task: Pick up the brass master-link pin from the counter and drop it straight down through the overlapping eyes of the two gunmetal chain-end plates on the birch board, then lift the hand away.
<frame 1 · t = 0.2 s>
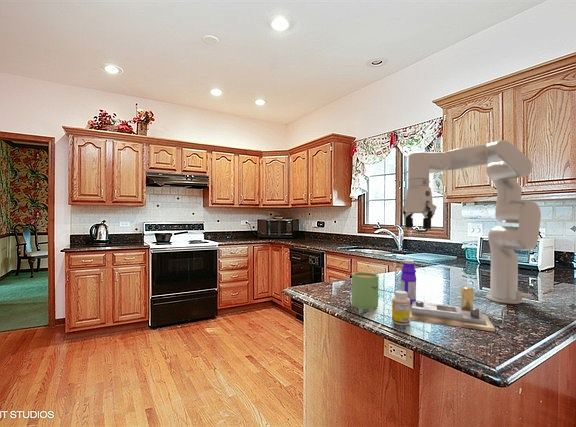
hand: (417, 228, 119), 31 cm above the countertop, tool pointing down, fingers open, 9 cm apart
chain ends: (446, 310, 106), on the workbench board, point 3 cm above the countertop
bottle: (408, 302, 125), on the countertop
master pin: (466, 308, 118), on the countertop
supplement bottle: (400, 323, 101), on the countertop
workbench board: (446, 318, 106), on the countertop
mug: (366, 305, 121), on the countertop
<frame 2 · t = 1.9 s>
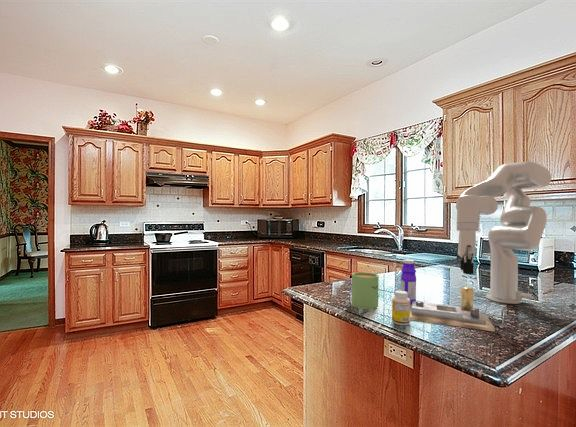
hand: (466, 271, 117), 14 cm above the countertop, tool pointing down, fingers open, 9 cm apart
nothing on the countertop moved.
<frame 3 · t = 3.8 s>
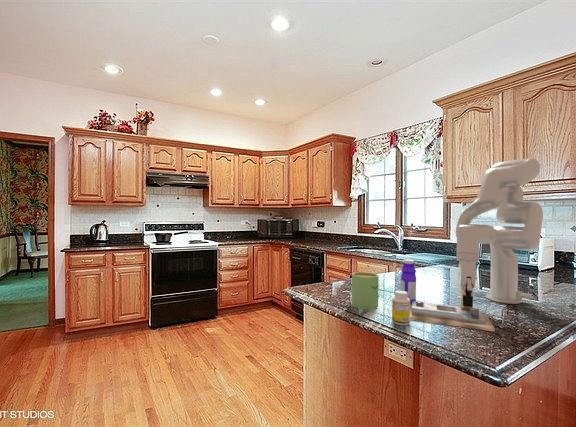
hand: (467, 304, 118), 2 cm above the countertop, tool pointing down, fingers closed on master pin, 4 cm apart
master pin: (466, 308, 118), on the countertop, touching gripper
everything else where it was.
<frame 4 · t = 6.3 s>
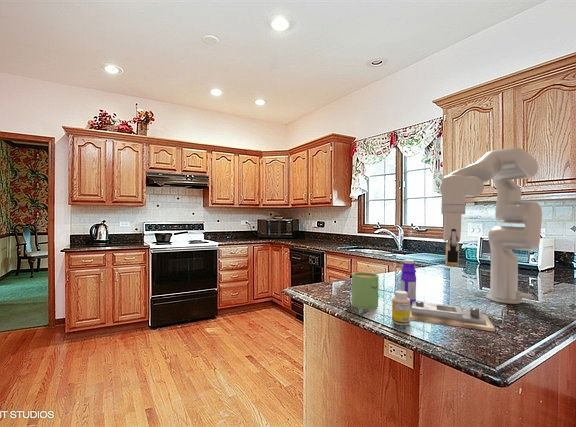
hand: (452, 261, 109), 20 cm above the countertop, tool pointing down, fingers closed on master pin, 4 cm apart
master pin: (451, 266, 109), point 18 cm above the countertop, touching gripper
everything else where it was.
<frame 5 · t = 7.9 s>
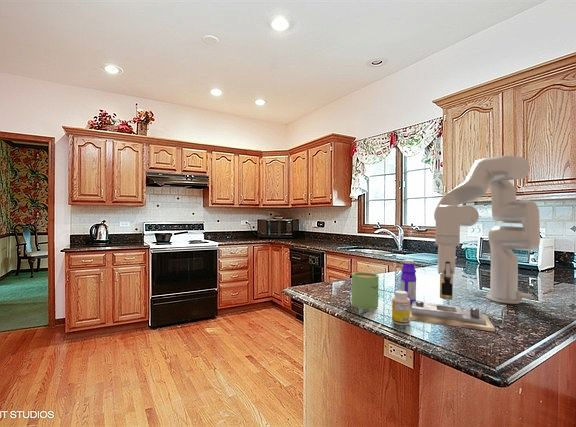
hand: (446, 292, 106), 9 cm above the countertop, tool pointing down, fingers closed on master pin, 4 cm apart
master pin: (446, 298, 106), point 7 cm above the countertop, touching gripper
everything else where it was.
when the fingers open (4 cm above the countertop, at t = 9.3 s): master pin drops 1 cm, resting on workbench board.
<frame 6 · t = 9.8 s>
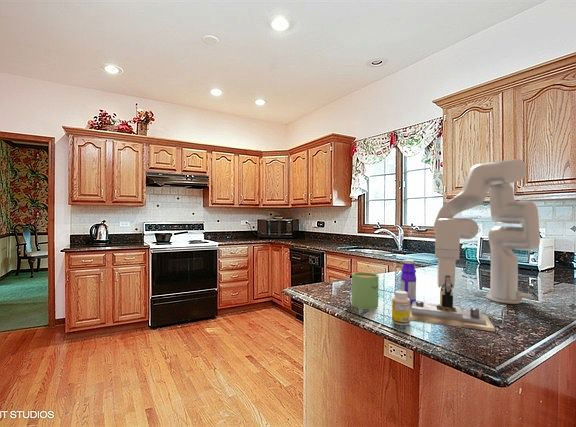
hand: (446, 303, 106), 5 cm above the countertop, tool pointing down, fingers open, 9 cm apart
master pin: (446, 315, 106), point 1 cm above the countertop, touching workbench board
everything else where it was.
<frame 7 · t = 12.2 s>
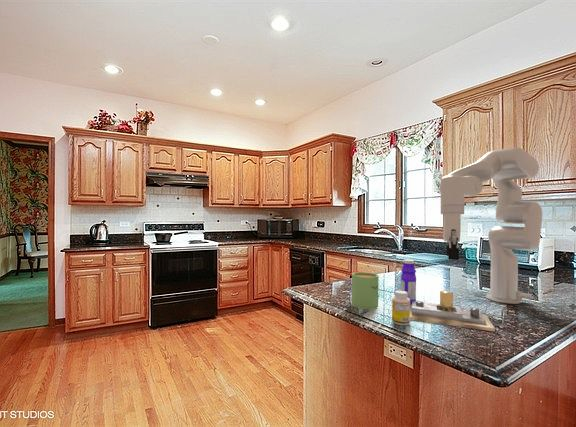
hand: (452, 257, 111), 21 cm above the countertop, tool pointing down, fingers open, 9 cm apart
nothing on the countertop moved.
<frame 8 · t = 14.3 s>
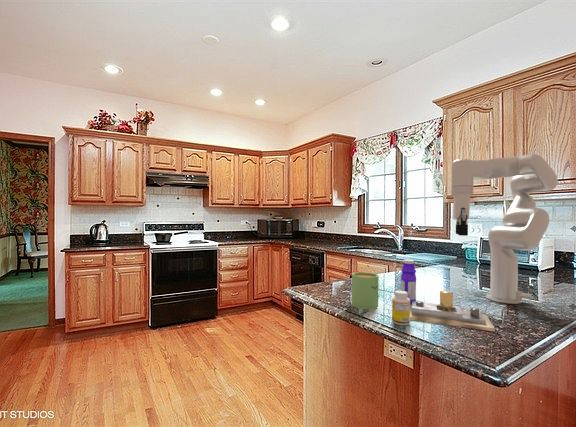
hand: (461, 234, 120), 28 cm above the countertop, tool pointing down, fingers open, 9 cm apart
nothing on the countertop moved.
at the end: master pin 0.1 cm off-centre on the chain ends, point 1.0 cm above the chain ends's base; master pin tilted 0°; the gripper is holding nothing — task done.
